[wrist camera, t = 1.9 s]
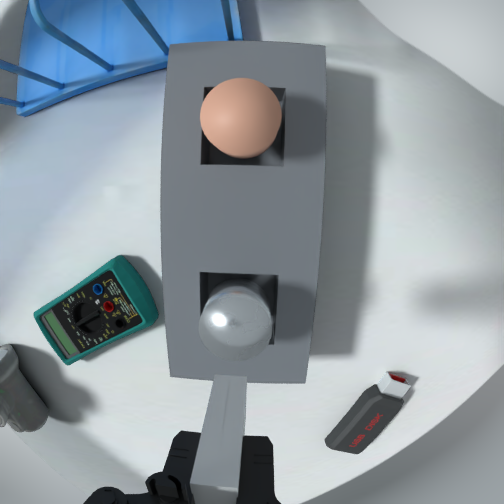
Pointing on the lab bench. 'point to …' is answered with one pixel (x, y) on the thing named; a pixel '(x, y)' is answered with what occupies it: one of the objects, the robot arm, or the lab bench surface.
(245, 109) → the peach rounded dome part
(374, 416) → the usb drive
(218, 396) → the robot arm
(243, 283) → the steel plunger
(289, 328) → the block
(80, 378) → the lab bench surface
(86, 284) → the digital multimeter
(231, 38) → the file sorter
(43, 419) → the pipe fitting
